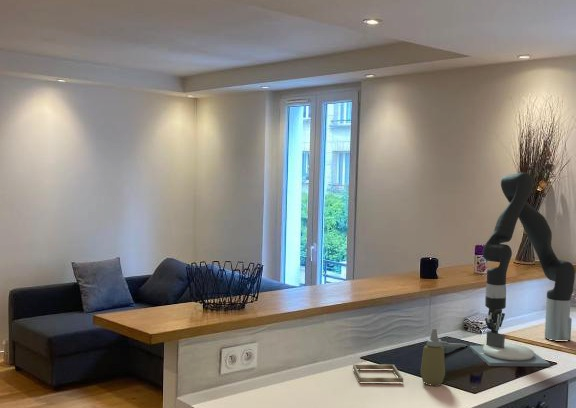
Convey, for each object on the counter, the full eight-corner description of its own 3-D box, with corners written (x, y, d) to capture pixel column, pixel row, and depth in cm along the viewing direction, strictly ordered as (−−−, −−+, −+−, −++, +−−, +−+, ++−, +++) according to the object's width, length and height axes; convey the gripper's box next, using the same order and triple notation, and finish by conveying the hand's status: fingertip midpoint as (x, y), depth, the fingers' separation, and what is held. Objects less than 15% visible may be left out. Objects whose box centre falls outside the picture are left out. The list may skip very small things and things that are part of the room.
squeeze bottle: (414, 380, 217) (417, 326, 216) (435, 378, 220) (438, 325, 219) (428, 388, 209) (430, 332, 208) (450, 386, 212) (452, 331, 211)
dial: (542, 354, 246) (542, 337, 246) (519, 363, 234) (520, 345, 233) (494, 343, 260) (495, 327, 260) (470, 351, 248) (471, 334, 247)
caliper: (436, 356, 247) (436, 339, 246) (433, 355, 248) (434, 338, 247) (467, 347, 260) (468, 331, 260) (465, 346, 261) (466, 331, 260)
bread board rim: (393, 370, 227) (393, 364, 227) (403, 384, 213) (403, 378, 213) (352, 370, 226) (353, 364, 226) (359, 383, 212) (359, 377, 212)
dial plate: (524, 349, 258) (524, 345, 258) (549, 366, 236) (549, 362, 236) (469, 348, 257) (469, 345, 257) (489, 366, 235) (489, 362, 235)
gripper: (494, 291, 260) (492, 333, 262) (478, 296, 250) (477, 341, 252) (512, 293, 255) (510, 337, 257) (497, 299, 245) (496, 345, 247)
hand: (494, 339), depth 254 cm, fingers closed
